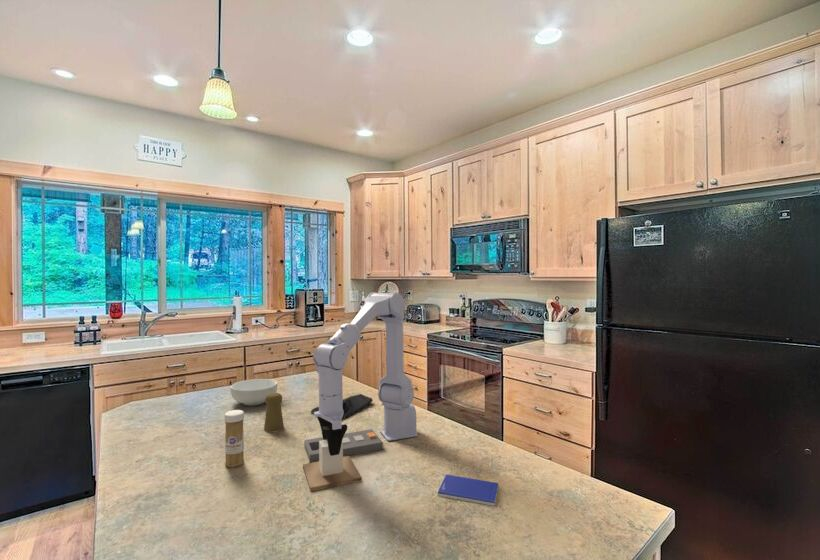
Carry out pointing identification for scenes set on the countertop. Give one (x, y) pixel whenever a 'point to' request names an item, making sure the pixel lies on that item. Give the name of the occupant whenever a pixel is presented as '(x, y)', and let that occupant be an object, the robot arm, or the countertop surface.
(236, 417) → the sprinkles bottle
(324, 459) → the block
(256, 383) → the cereal bowl
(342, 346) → the robot arm
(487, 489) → the hard drive
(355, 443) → the power strip
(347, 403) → the dark slate chunk
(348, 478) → the coaster
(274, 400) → the cork
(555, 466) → the countertop surface
